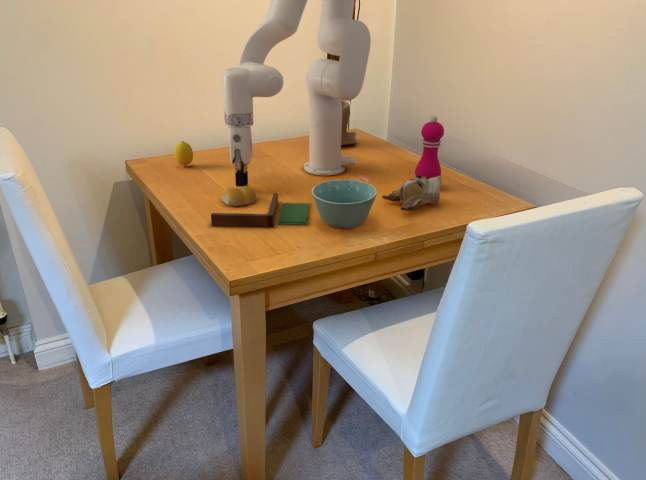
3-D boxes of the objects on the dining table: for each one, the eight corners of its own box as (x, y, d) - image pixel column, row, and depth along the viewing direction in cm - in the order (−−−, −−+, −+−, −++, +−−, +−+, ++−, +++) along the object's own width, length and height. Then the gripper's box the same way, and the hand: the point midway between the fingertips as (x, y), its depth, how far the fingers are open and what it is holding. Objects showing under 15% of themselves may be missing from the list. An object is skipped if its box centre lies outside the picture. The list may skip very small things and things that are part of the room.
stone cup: (319, 151, 193) (320, 105, 185) (311, 141, 203) (312, 97, 195) (363, 149, 196) (365, 103, 188) (353, 139, 206) (355, 95, 198)
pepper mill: (441, 185, 166) (451, 114, 156) (435, 193, 161) (444, 120, 151) (417, 181, 169) (424, 111, 159) (410, 189, 163) (417, 117, 153)
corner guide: (278, 203, 154) (277, 192, 153) (273, 227, 141) (272, 215, 140) (221, 202, 155) (221, 191, 153) (211, 226, 142) (210, 213, 140)
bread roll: (261, 202, 155) (261, 188, 153) (231, 209, 151) (230, 194, 149) (247, 192, 161) (246, 178, 159) (217, 199, 157) (216, 185, 155)
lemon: (192, 169, 177) (189, 144, 173) (174, 169, 177) (171, 143, 173) (195, 164, 182) (193, 138, 178) (178, 163, 182) (175, 138, 178)
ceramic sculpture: (453, 176, 147) (403, 188, 142) (451, 207, 151) (401, 220, 147) (429, 164, 155) (380, 174, 151) (427, 194, 160) (380, 205, 155)
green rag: (308, 204, 154) (308, 202, 153) (306, 225, 142) (306, 223, 142) (282, 204, 154) (282, 202, 154) (278, 224, 143) (278, 222, 142)
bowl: (328, 239, 135) (329, 206, 131) (301, 215, 148) (301, 184, 144) (386, 228, 141) (389, 196, 137) (356, 205, 153) (357, 175, 149)
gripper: (249, 126, 145) (252, 195, 155) (256, 111, 158) (258, 176, 168) (219, 125, 146) (224, 194, 155) (229, 111, 159) (232, 176, 168)
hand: (241, 185), depth 161 cm, fingers closed
